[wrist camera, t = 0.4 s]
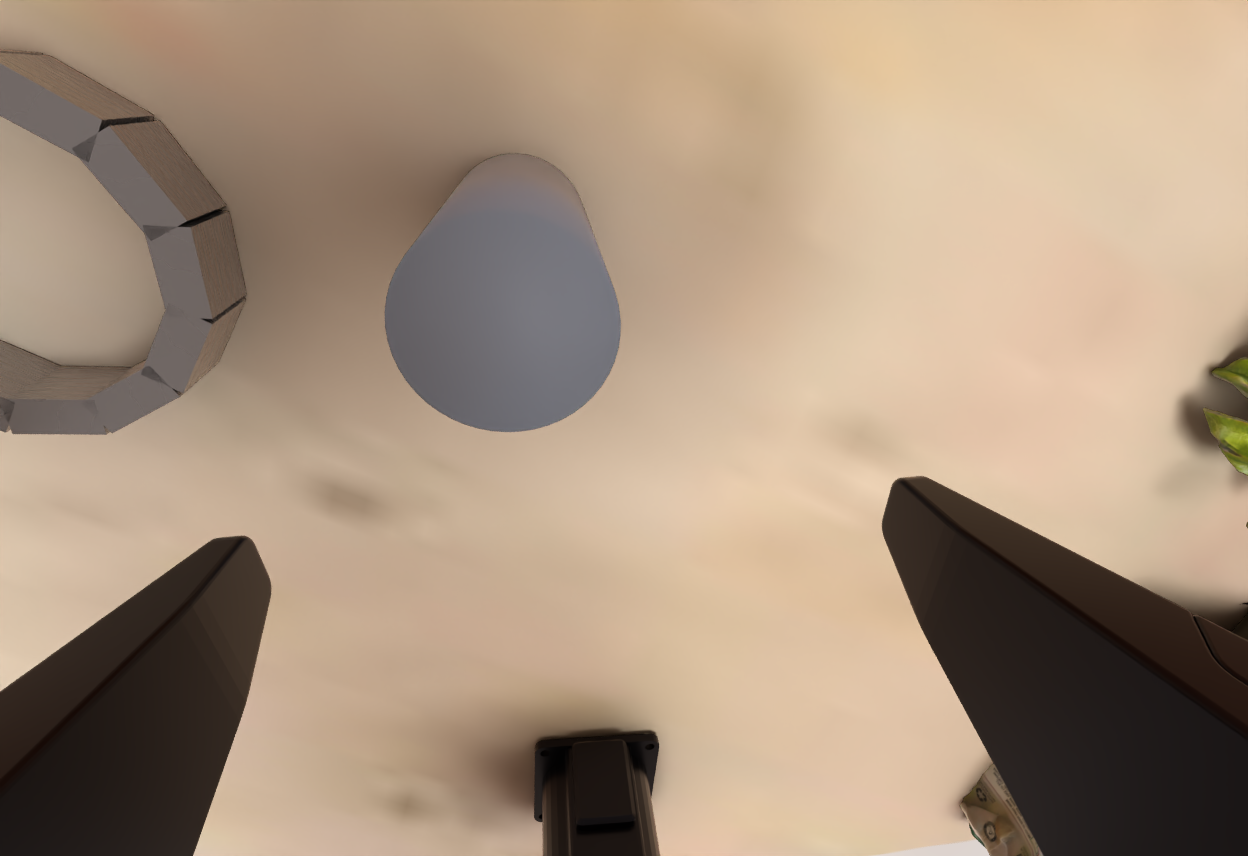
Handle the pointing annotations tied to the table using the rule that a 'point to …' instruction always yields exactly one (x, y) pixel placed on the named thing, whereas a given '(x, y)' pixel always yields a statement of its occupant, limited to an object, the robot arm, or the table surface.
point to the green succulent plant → (1232, 418)
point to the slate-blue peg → (505, 301)
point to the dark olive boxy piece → (1010, 808)
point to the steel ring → (177, 239)
